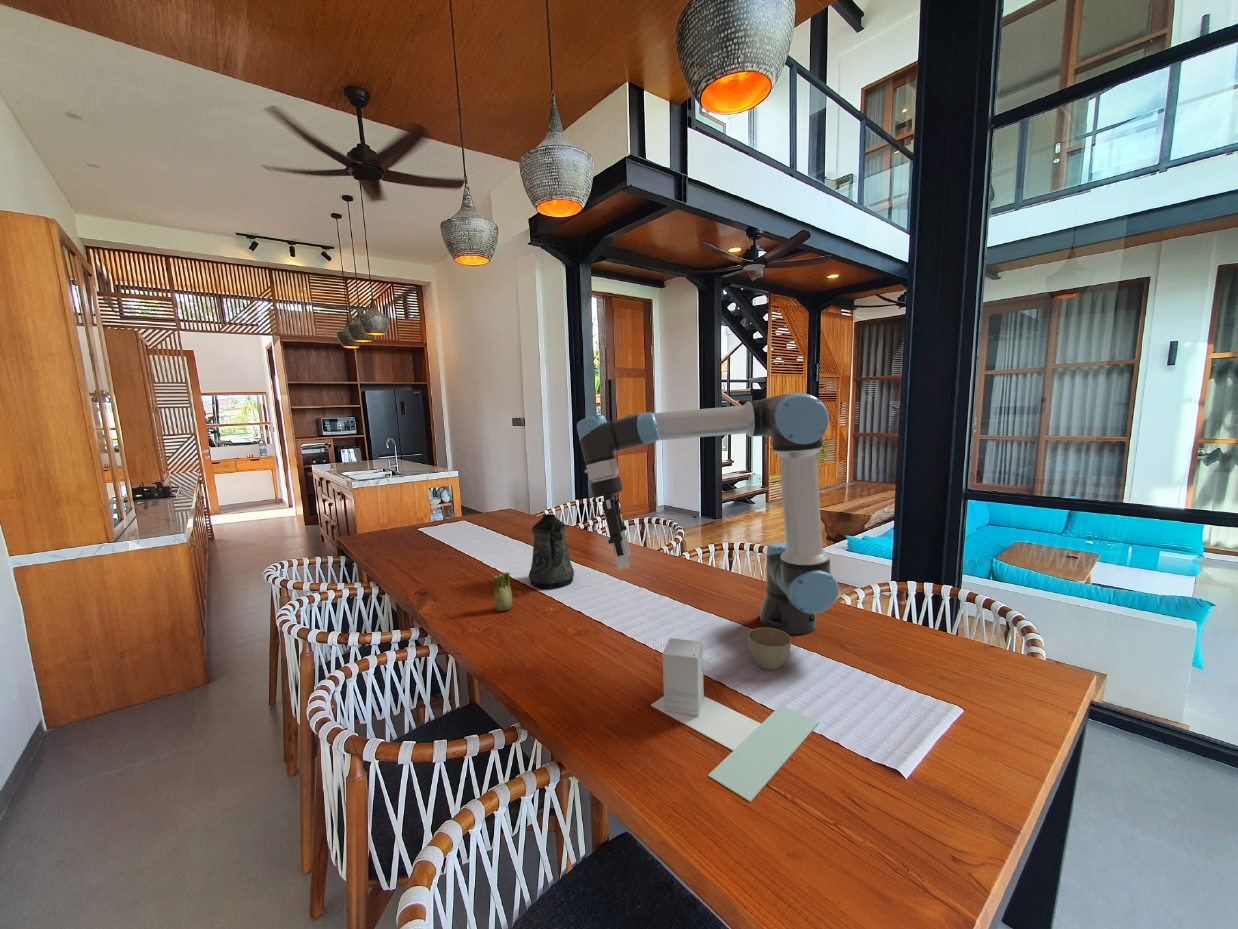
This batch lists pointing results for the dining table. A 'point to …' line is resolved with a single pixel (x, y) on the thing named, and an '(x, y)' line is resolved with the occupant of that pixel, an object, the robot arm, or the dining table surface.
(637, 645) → the dining table surface
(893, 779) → the dining table surface
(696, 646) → the supplement box
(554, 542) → the beer stein
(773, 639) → the flower pot
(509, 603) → the fennel bulb
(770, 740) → the t mat
